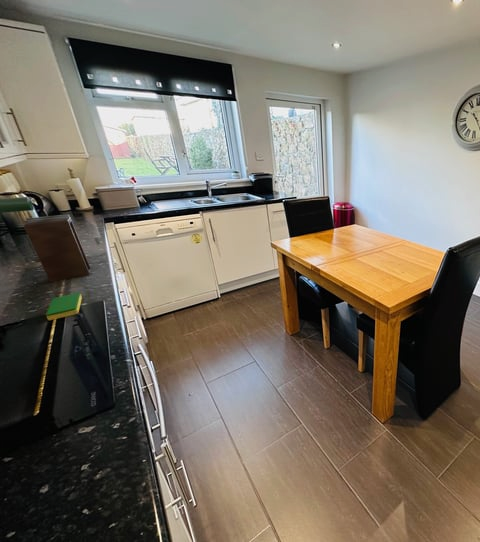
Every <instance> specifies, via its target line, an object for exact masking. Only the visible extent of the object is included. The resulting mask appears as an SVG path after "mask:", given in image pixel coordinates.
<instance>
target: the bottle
mask: <svg viewBox="0 0 480 542" xmlns="http://www.w3.org/2000/svg"><path fill="white" fill-rule="evenodd" d="M34 209H35V208H34V205H33V203H32V200H31V199H30V197H29V196H19V197H1V198H0V214H3V213H4V214H5V213H16V212H17V213H18V212H29V211H34Z"/></svg>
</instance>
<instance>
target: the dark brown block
mask: <svg viewBox="0 0 480 542" xmlns="http://www.w3.org/2000/svg"><path fill="white" fill-rule="evenodd" d="M23 228H24V230H25V232H26V234H27V236H28V237H29V240H30V243H31V245H32V247H33V249H34V251H35V253H36V256H37V257H38V259H39V262H40V264H41V266H42V268H43V270H44V272H45V274H46V275H47V279H48V281H49V283H53V282H59V281H63V280H70V279H74V278H81V277H85V276H90V274H91V273H90V271H89V270H90V269H92V268H91V264H90V263H89V260H88V257H87V255H86V252H85V250H84V247H83V245H82V243H81V240H80V237H79V234H78V232H77V230H76V227H75V225H74V222H73V220H72V217H71V216H70V215H69V214H59V215H50V216H49V215H47V216H37V217H26V218H25V220H23Z"/></svg>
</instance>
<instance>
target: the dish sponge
mask: <svg viewBox="0 0 480 542" xmlns="http://www.w3.org/2000/svg"><path fill="white" fill-rule="evenodd" d="M82 299H83V297H82V294H81V292H77V293H76V292H75V293H72V294H71V293H70V294H67V295H62V296H57V297H53V298H52V299H51V301H50V303H49V306H48V308H47V311H46V313H45V316H46V319H47V321H52V320H57V319H61V318H65V317H71V316H74V315H78V314H79V313H80V312H79V311H80V309H81V304H82Z"/></svg>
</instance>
